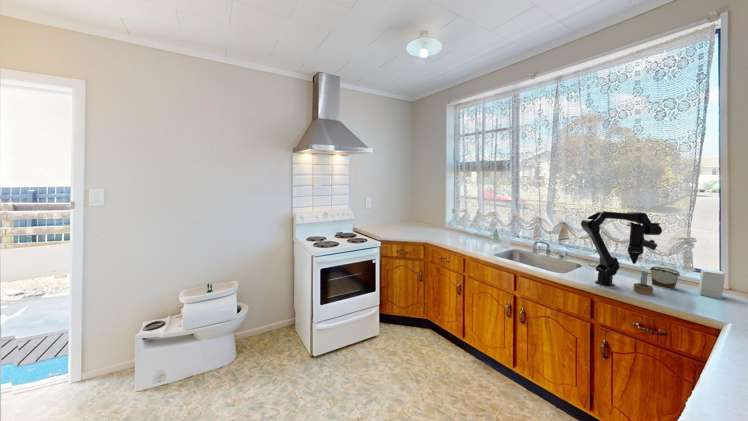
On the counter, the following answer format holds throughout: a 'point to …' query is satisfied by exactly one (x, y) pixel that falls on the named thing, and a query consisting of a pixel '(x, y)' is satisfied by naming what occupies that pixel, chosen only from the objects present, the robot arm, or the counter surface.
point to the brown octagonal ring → (643, 289)
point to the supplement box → (711, 283)
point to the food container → (664, 277)
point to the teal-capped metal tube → (643, 278)
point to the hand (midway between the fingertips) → (634, 262)
